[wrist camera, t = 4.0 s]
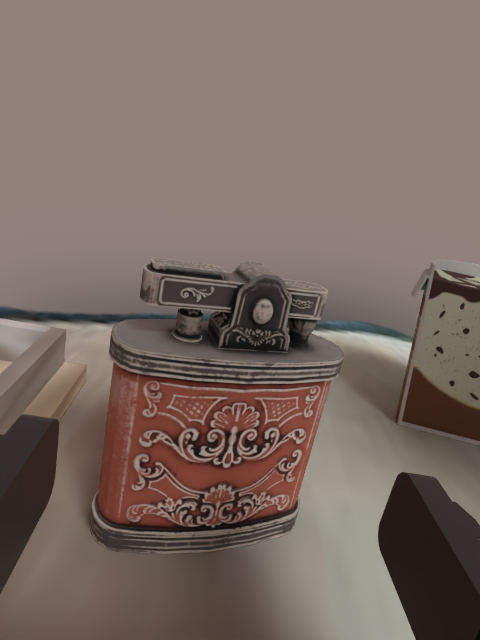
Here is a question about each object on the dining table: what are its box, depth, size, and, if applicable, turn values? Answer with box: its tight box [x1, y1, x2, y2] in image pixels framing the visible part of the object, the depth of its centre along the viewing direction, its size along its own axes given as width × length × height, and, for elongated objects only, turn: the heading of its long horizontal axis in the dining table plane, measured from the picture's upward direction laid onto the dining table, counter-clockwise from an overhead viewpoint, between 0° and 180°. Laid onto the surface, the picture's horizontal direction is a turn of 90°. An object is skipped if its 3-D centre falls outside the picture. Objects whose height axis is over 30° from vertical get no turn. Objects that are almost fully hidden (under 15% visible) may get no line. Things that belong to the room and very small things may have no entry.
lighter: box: [90, 258, 344, 554], centre depth 16 cm, size 8×3×10 cm, turn 108°
